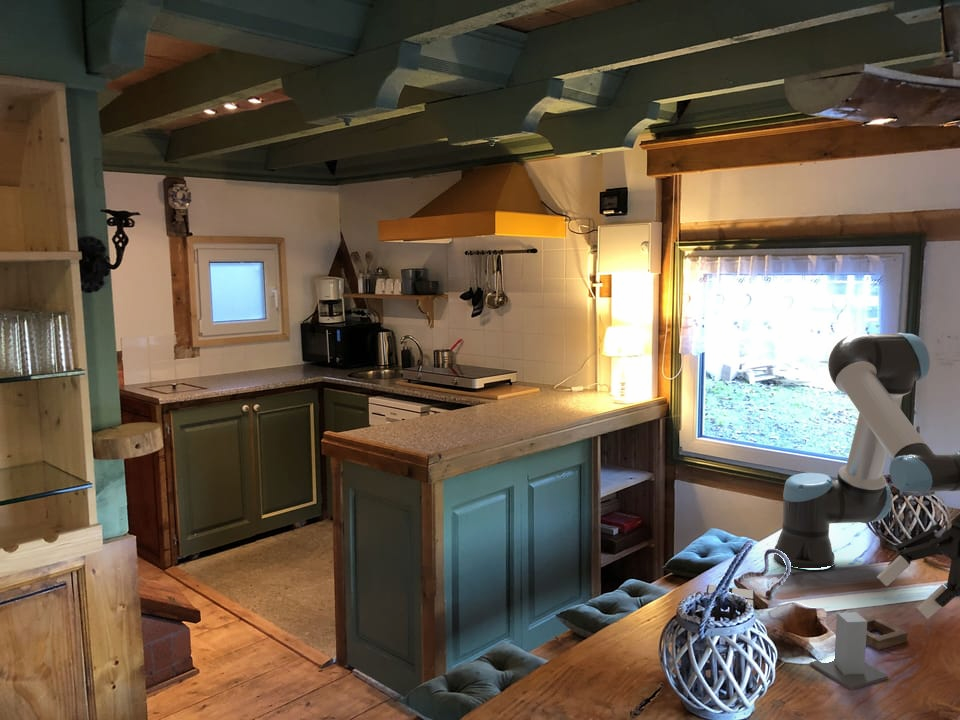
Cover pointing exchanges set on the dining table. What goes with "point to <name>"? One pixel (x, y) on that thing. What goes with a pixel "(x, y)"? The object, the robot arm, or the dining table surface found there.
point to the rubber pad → (850, 675)
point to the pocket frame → (890, 631)
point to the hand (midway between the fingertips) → (900, 597)
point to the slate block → (850, 643)
